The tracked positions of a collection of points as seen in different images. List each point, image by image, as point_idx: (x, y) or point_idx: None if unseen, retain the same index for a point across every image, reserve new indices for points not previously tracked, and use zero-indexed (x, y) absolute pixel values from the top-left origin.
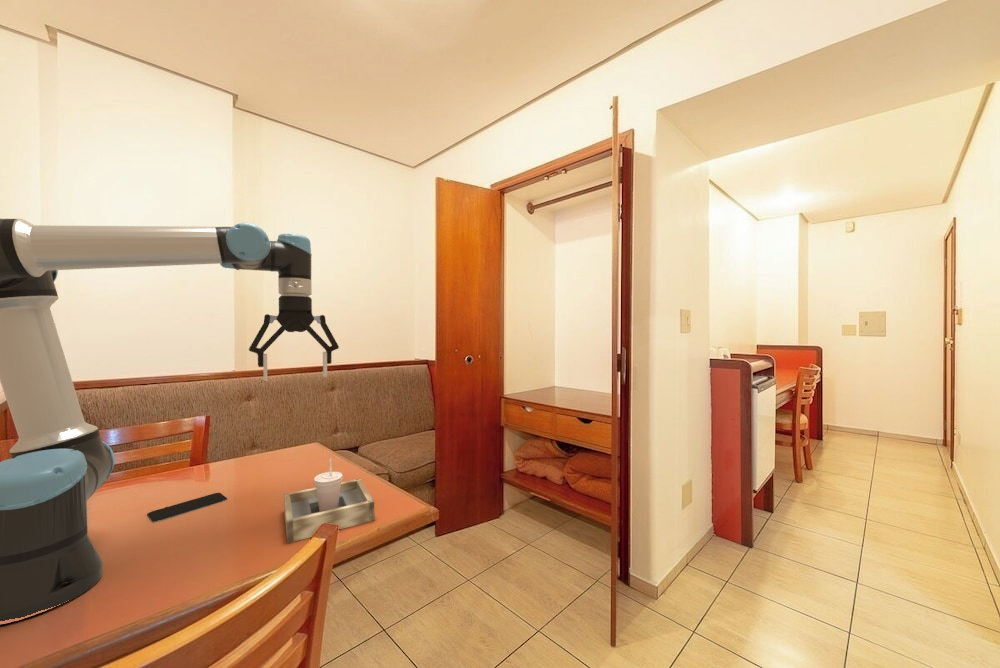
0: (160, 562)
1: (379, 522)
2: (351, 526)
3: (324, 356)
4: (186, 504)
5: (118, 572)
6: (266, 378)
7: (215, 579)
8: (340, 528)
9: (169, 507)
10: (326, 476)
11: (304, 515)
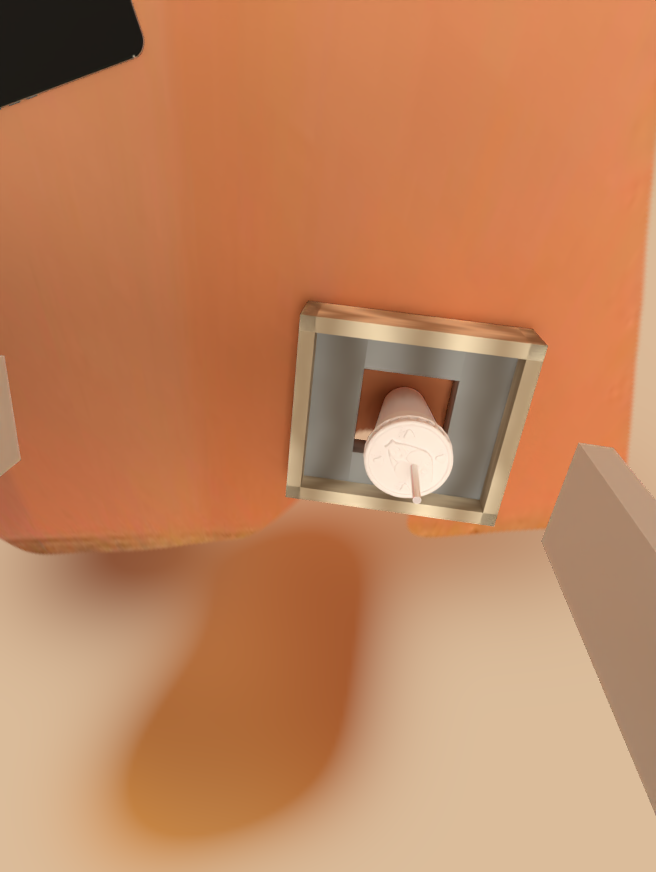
0: (66, 384)
1: None
2: None
3: (642, 768)
4: (16, 5)
5: None
6: (2, 469)
7: (174, 507)
8: None
9: None
10: (401, 463)
11: (337, 432)
